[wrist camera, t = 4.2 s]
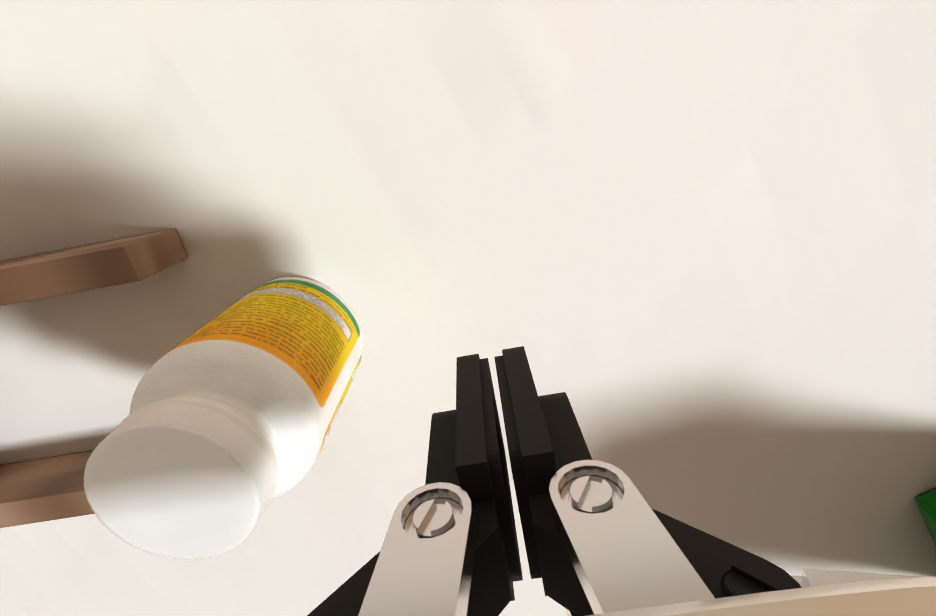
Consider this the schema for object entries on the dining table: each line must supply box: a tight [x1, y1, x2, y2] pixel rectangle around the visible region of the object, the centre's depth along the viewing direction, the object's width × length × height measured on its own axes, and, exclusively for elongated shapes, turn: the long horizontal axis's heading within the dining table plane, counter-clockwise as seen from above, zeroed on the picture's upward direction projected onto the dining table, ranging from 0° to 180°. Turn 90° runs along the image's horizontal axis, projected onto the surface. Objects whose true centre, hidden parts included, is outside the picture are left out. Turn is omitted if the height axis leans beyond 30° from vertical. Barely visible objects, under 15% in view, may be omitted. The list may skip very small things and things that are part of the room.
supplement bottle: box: [84, 277, 364, 560], centre depth 15 cm, size 5×5×10 cm
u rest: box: [0, 229, 188, 528], centre depth 19 cm, size 14×10×3 cm
